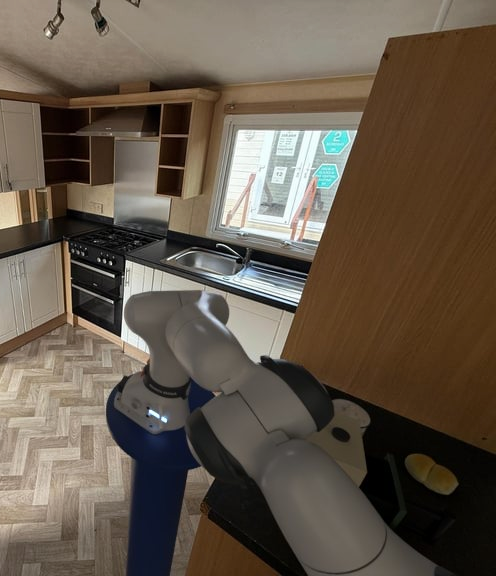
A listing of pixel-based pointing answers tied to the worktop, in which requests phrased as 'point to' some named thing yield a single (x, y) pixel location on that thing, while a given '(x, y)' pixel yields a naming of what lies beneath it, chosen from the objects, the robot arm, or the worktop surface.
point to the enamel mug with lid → (352, 412)
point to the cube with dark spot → (343, 445)
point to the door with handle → (399, 500)
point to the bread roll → (431, 474)
